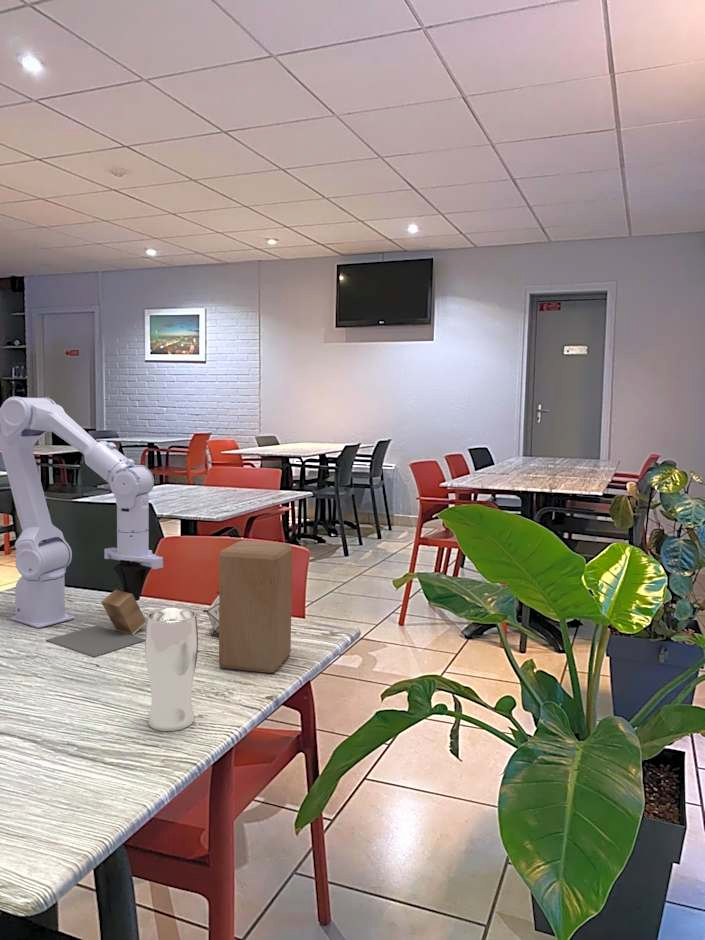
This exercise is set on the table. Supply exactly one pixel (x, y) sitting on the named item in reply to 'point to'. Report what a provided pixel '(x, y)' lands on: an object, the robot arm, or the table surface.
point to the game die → (214, 614)
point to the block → (255, 605)
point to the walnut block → (124, 611)
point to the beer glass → (171, 666)
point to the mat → (96, 640)
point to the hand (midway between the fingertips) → (133, 600)
